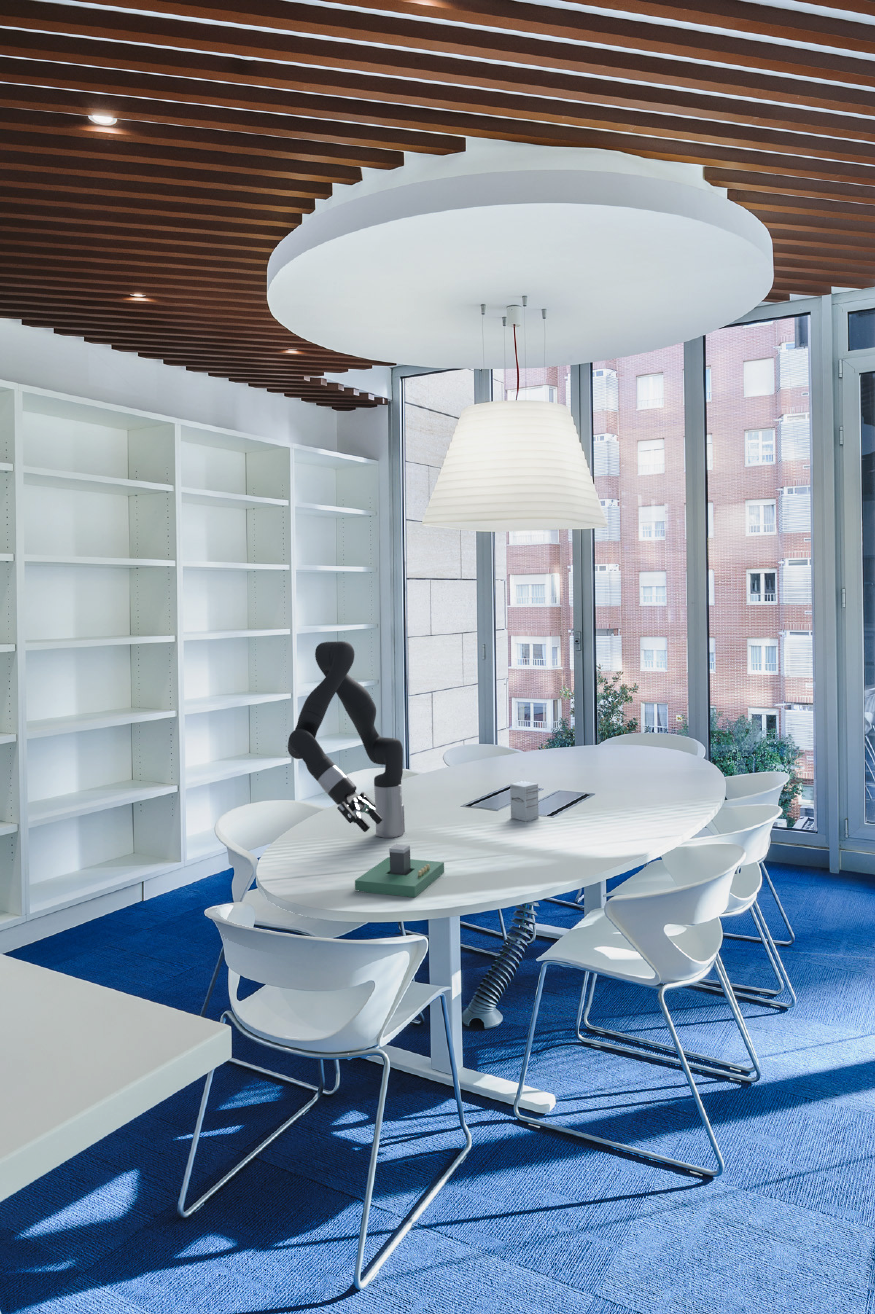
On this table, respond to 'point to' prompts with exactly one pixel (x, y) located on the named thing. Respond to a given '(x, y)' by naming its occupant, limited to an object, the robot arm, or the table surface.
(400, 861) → the black plug
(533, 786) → the supplement box
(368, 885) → the socket board
